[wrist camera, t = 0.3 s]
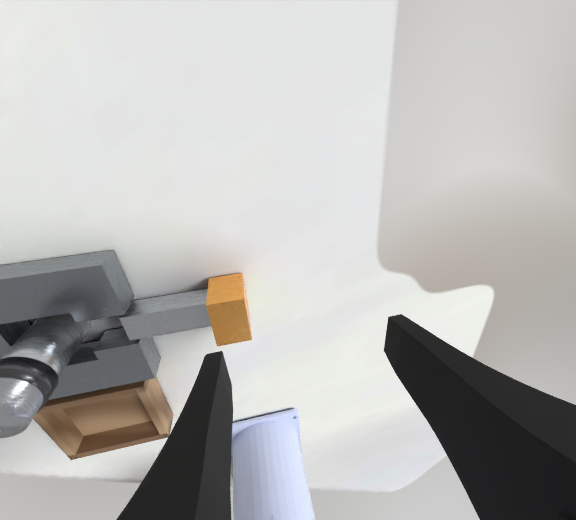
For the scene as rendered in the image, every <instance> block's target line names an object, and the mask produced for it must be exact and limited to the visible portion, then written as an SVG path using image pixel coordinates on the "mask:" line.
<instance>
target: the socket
mask: <svg viewBox="0 0 576 520" xmlns="http://www.w3.org/2000/svg"><path fill="white" fill-rule="evenodd" d="M133 298H134V294H133V292H132V290H131V287H130V285H129V283H128V280H127V278H126V276H125V273H124V271H123V269H122V267H121V264H120V262H119V260H118V257H117V255H116V253H115V250H110V251H102V252H95V253H88V254H81V255H73V256H66V257H59V258H52V259H44V260H37V261H30V262H23V263H15V264H8V265H1V266H0V358H1V357H2V356H3V355H4V354H5V353H6V352H7V351H8V349H9V348H10V347H11V346H12V345H13V344H14V343H15V342H16V341H17V340H18V339H19V338H20V337H21V335H22V334H23V333H24V332H25V331H26V330H27V329H28V328H29V327H30V326H31V325H30V324H29V322H28V321H27V320H30V319H36V318H42V317H48V316H54V315H60V314H66V313H71V315H72V317H73V318H74V320H75V322H76V323H77V322H83V321H89V320H95V319H101V318H106V317H112V316H118V315H124V314H125V313H126V311H127V309H128V308H129V306H130V304H131V302H132V300H133ZM160 359H161V357H160V355H159V352H158V350H157V348H156V345H155V343H154V341H153V338H152V337H146V338H141V339H136V340H129V338H128V336H127V334H126V331H125V329H124V328H120V329H114V330H108V331H105V332H104V334H103V336H102V337H101V339H100V341H95V342H89V343H84V344H80V346H79V347H78V349H77V350H76V352H75V353H74V355H73V356H72V358H71V360H70V361H69V363H68V364H67V366H66V367H65V369H64V371H63V372H62V374H61V375H60V377H59V382H58V385H57V387H56V388H55V390H54V392H53V393H52V395H51V396H50V398H49V399H48V400H51V399H56V398H61V397H66V396H71V395H75V394H80V393H85V392H90V391H95V390H100V389H105V388H110V387H115V386H120V385H125V384H130V383H135V382H139V381H144V380H149V379H154V378H155V377H156V373H157V370H158V366H159V362H160Z"/></svg>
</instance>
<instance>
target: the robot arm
mask: <svg viewBox="0 0 576 520" xmlns="http://www.w3.org/2000/svg"><path fill="white" fill-rule="evenodd" d="M384 351H385V353H386V355H387V357H388V359H389V362H390V364H391V365H392V367H393V369H394V371H395V373H396V374H397V376H398V378H399V379H400V381H401V382H402V384H403V385H404V387H405V388H406V390H407V391H408V393H409V394H410V396H411V397H412V399H413V400H414V402H415V403H416V405H417V406H418V408H419V409H420V411H421V412H422V414H423V415H424V416H425V418H426V419H427V421H428V423H429V424H430V426H431V427H432V429H433V431H434V432H435V434H436V436H437V438H438V439H439V441H440V443H441V445H442V447H443V448H444V450H445V452H446V454H447V456H448V458H449V459H450V461H451V463H452V465H453V467H454V469H455V471H456V472H457V475H458V477H459V478H460V480H461V482H462V484H463V486H464V488H465V490H466V492H467V494H468V496H469V498H470V500H471V502H472V504H473V506H474V508H475V510H476V512H477V515H478V516H479V518H480V520H576V405H574V404H571V403H569V402H566V401H564V400H561V399H559V398H556V397H553V396H551V395H549V394H546V393H544V392H542V391H539V390H537V389H535V388H532V387H530V386H528V385H526V384H523V383H521V382H519V381H517V380H514V379H512V378H510V377H508V376H506V375H504V374H502V373H500V372H498V371H496V370H494V369H492V368H490V367H488V366H486V365H484V364H483V363H481V362H479V361H477V360H475V359H473V358H472V357H470V356H468V355H466V354H465V353H463V352H461V351H459V350H458V349H456V348H454V347H453V346H451V345H449V344H448V343H446V342H444V341H443V340H441V339H440V338H438V337H436V336H435V335H433V334H432V333H430V332H429V331H427V330H425V329H424V328H422V327H421V326H419V325H418V324H416V323H414V322H413V321H411V320H410V319H408V318H407V317H405V316H403V315H402V314H401V315H396V316H391V317H388V324H387V332H386V339H385V347H384ZM232 422H233V402H232V385H231V381H230V377H229V374H228V370H227V367H226V363H225V359H224V356H223V352H222V351H220V352H215V353H210V354H207V355H206V356H205V357H204V360H203V363H202V366H201V369H200V371H199V374H198V376H197V379H196V381H195V384H194V386H193V388H192V391H191V393H190V395H189V397H188V399H187V402H186V404H185V406H184V408H183V410H182V412H181V414H180V416H179V418H178V420H177V422H176V424H175V426H174V428H173V430H172V432H171V434H170V436H169V437H168V439H167V441H166V443H165V445H164V447H163V448H162V450H161V452H160V453H159V455H158V457H157V459H156V460H155V462H154V464H153V465H152V467H151V469H150V470H149V472H148V473H147V475H146V476H145V478H144V480H143V481H142V483H141V484H140V486H139V488H138V489H137V491H136V492H135V494H134V495H133V497H132V498H131V500H130V501H129V503H128V504H127V506H126V507H125V508H124V510H123V511H122V513H121V514H120V516H119V517H118V518H117V520H231V504H230V503H231V501H230V468H231V456H232V459H233V505H234V506H233V513H234V520H315V515H314V511H313V507H312V502H311V497H310V492H309V488H308V483H307V478H306V474H305V469H304V464H303V460H302V451H301V439H300V426H299V414H298V410H297V409H291V410H286V411H282V412H278V413H274V414H269V415H265V416H261V417H256V418H252V419H248V420H244V421H239V422H235V423H232Z"/></svg>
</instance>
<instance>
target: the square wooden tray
mask: <svg viewBox="0 0 576 520" xmlns="http://www.w3.org/2000/svg"><path fill="white" fill-rule="evenodd" d="M33 419H34V420H35V421H36V422H37V423H38V424H39V425H40V426H41V428H42V429H43V430H44V431H45V432H46V433H47V434H48V435H49V436H50V437H51V439H52V440H53V441H54V442H55V443H56V444H57V445H58V446H59V447H60V448H61V449H62V451H63V452H64V453H65V454H66V455H67V456H68V457H69V458H70V459H71V460H73V459H77V458H81V457H86V456H90V455H94V454H98V453H103V452H107V451H111V450H115V449H120V448H124V447H128V446H133V445H137V444H141V443H145V442H150V441H154V440H158V439H163V438H167V437H169V435H170V430H171V424H172V419H173V412H172V410H171V408H170V406H169V404H168V402H167V400H166V397H165V395H164V393H163V391H162V389H161V387H160V385H159V383H158V380H157V378H156V377H155V378H154V379H149V380H144V381H139V382H135V383H130V384H125V385H120V386H115V387H110V388H105V389H100V390H95V391H90V392H85V393H80V394H75V395H71V396H66V397H61V398H56V399H51V400H48V401H47V403H46V404H45V406H44V407H43V408H42V409H41V410H39V411H38V412H37V413H36V414H35V416H34V417H33Z"/></svg>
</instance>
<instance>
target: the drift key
mask: <svg viewBox="0 0 576 520" xmlns="http://www.w3.org/2000/svg"><path fill="white" fill-rule="evenodd" d="M119 319H120V321H121V323H122V325H123V327H124V329H125V331H126V334H127V336H128V338H129V340H136V339H141V338H146V337H152V336H157V335H163V334H168V333H174V332H179V331H185V330H190V329H196V328H201V327H207V326H212V329H213V333H214V337H215V340H216V344H217V346H222V345H227V344H232V343H237V342H242V341H247V340H252V336H251V327H250V317H249V309H248V304H247V298H246V292H245V287H244V281H243V275H242V273H239V274H232V275H226V276H220V277H214V278H209V282H208V289H202V290H196V291H190V292H184V293H178V294H171V295H165V296H159V297H153V298H147V299H141V300H135V301H132V302H131V304H130V306H129V308H128V309H127V311H126V313H125V314H124V315H121V316H120V317H119Z"/></svg>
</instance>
